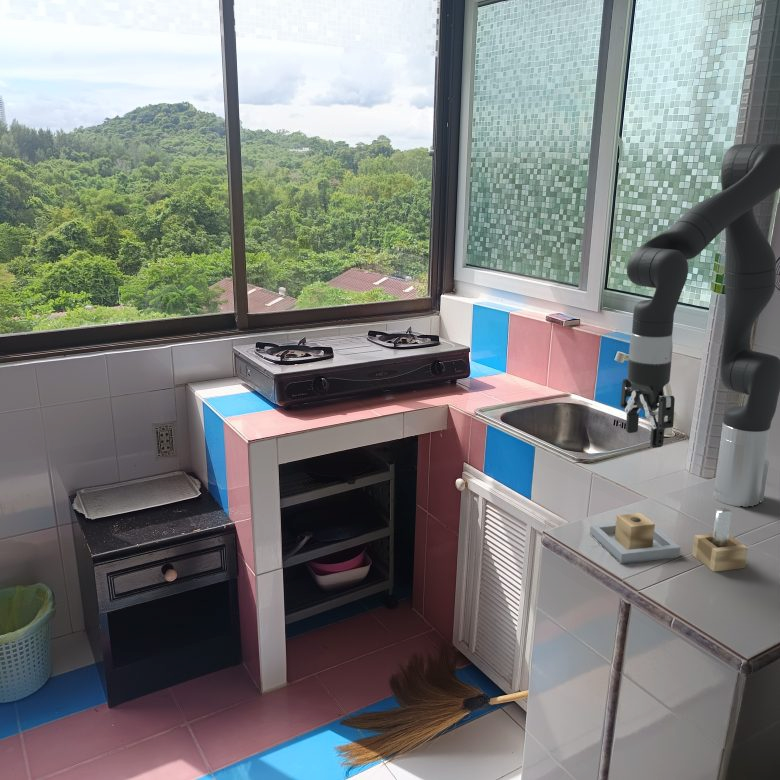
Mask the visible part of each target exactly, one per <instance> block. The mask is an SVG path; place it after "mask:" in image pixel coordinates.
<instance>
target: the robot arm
mask: <svg viewBox="0 0 780 780" xmlns="http://www.w3.org/2000/svg"><path fill="white" fill-rule="evenodd" d="M720 184H721V191H720V192H718V193H716V194H713V195H712V196H710V197H707V198H705V199H703V200H702V201H700V202H698V203H697V204H696V205H693V206H692V207H691V208H690V209H688V210H687V211H686V212H685V213H684V214H683V215H682V216H681V217H680V218H679V219H678V220H677V221H676V222H674V224H673V225H672V226H671V227H670V228H668V229H667V230H665V231H664V232H661V233H660V234H658V235H656V236H654V237H653V238H651V239H648V240H647V241H646V242H644V243H643V244H641V245H640V246H638V247H637V248H636V249H635V250H634V252H632V254H631V255H630V257H629V259H628V262H627V263H626V264H627V265H626V274H627V277H628V279H629V281H630V282H631V283H633V284H634V285H637V286H639V287H646V288H652V289H655V291H654V294H653V296H652V297H651V299H647V300H646V299H644V300H640V301H638V302H636V303H635V306H634V308H633V314H632V315H633V316H632V325H631V326H632V328H631V337H630V341H629V349H628V363H627V364H628V365H627V377H626V378H624V379H623V380H622V383H621V384H622V385H621V393H620V404H619V406H620V408H621V409H624V412H625V414H626V420H625V421H626V423H625V432H626V433H629V434H634V433H637V432H638V431H639V420H640V419H639V418H640V414H639V412H640V411H641V410H642V411H643V412H644V413H645V417H646V418H648V419H649V421H650V424H651V430H650V431H651V432H650V441H649V442H650V444H649V446H650V447H651V448H653V449H654V448H655V449H656V448H661V447H663V445H664V438H665V429H671V428H673V427H674V417H675V396H674V395H665V392H664V387H665V386H666V385H667V384H669V383H670V381H671V379H670V378H671V370H672V360H673V359H672V357H673V345H674V344H673V331H674V329H673V328H674V316H675V312H676V309H677V306H678V303H679V300H680V298H681V295H682V291H683V290H684V287H685V286H686V285H685V284H686V282H687V279H688V275H689V264H688V260H691V259H694V258H696V257H697V256H699V254H701V253H702V252H703V251H704V250H705V248H707V246H708V245H710V244H711V243H712V242H713V240H714V239H715V238H716V237H718V236H719V235H720V233H722V232H723V231H725V261H724V262H725V263H724V291H725V305H724V306H725V307H724V309H725V313H724V314H725V315H724V329H723V330H724V333H723V341H722V349H721V350H722V351H721V358H720V359H721V360H720V379H721V382H722V385H723V386H724V387H725V388H726V389H729V390H730V391H733V392H737V393H740V394H743V395H747V396H748V397H747V400H746V404H745V405H737V406H731V407H729V408H727V409H726V410H724V413H723V419H722V427H721V433H720V434H721V436H720V441H719V450H718V457H717V465H716V473H715V480H714V481H715V482H714V488H713V497H714V496H715V497H714V499H716V500H717V499H718V500H717V501H719V502H720V501H721V503H722V504H726V505H728V506H734V507H739V508H741V507H740V506H743V507H742V508H749V507H748V506H752V507H755V506H754V505H756V504H758V505H759V504H760V503H761V502H760V501H763V502H764V499H765V491H766V485H767V480H768V471H769V466H770V465H769V464H770V462H769V460H767V459H766V458H767V452H768V446H769V437H770V433H771V432H770V430H771V425H772V421H773V419H774V416H775V413H776V411H777V406H778V400H779V396H780V358H779V357H778V356H776V355H773V354H770V353H769V354H768V353H765V352H759V351H757V350H752V349H751V335H752V330H753V326H754V325H755V322H756V321H757V319H758V318H759V316H760V314H761V313H762V312H763V311H764V309H766V307H767V306H768V304H769V302H770V301H771V299H772V297H773V295H774V293H775V290H776V274H777V273H776V271H777V269H776V267H777V261H776V255H775V252H774V250H773V248H772V246H771V244H770V243H769V242H770V241H769V240H768V239H767V237H766V235H765V234H764V232H763V230H762V229H761V227H760V225H759V224H758V221H757V219H756V217H755V214H754V207H755V206H757V205H759V204H760V203H761V202H762V201H764V200H766V199H767V198H768V197H770V196H771V195H773V194H774V193H775V192H777V191H778V190H779V189H780V143H779V142H773V141H769V142H753V143H749V142H748V143H739V144H738V143H737V144H734V145H732V146H730V147H729V148H728V149H727V151H726V152H725V154H724V155H723V159H722V163H721V168H720ZM628 397H629V398H628ZM627 398H628V400H627ZM657 410H658V411H657ZM666 417H667V419H666ZM656 418H657V419H656ZM759 502H760V503H759ZM756 506H757V505H756Z"/></svg>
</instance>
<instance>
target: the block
mask: <svg viewBox="0 0 780 780" xmlns="http://www.w3.org/2000/svg"><path fill="white" fill-rule="evenodd" d="M615 521H616V522H615V523H616V531H615V540H616V541H618V542H619V543H620V544H621V545H622V546H623V547H625V548H626V549H627V550H632V549H640V548H649V547H652V546H653V537H654V528H656V524H655V523H654V521H652V520H650V519H649V518H648V517H646V516H645V515H644V514H642V513H641V512H635V513H628V514H619V515H616V520H615Z"/></svg>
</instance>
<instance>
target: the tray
mask: <svg viewBox="0 0 780 780" xmlns="http://www.w3.org/2000/svg"><path fill="white" fill-rule="evenodd" d="M589 530H590V531H589V535H590V534H591V535H592V536H593V537H594V538H595V539H596V540H597V541H598V542H599V543H600V544H601V545H602V546H603V547H602V548H603V549H605V551H607V552H608V553H609V554H610V555H611V556H612V557H613V558H614V559H615V560H616V561H617V562H619V564H620V565H623V564H625V565H626V564H631V563H639V562H649V561H656V560H657V561H658V560H666V559H674V558H679V557H680V554H681V547H682V546H679V544H677V543H676V542H675V541H673V540H672V539H671V538H669V537H668V536H667V535H666V534H664V533H663V532H662V531H661V530H659V529H658V528H657V527H655V528H654V537H653V546H652V547H649V548H640V549H632V550H627V549H626V548H625V547H623V546H622V545H621V544H620V543H619V542H618V541H616V540H615V531H616V522H610V523H600V524H590V527H589ZM591 535H590V536H591ZM592 536H591V537H592ZM593 537H592V538H593ZM594 538H593V539H594ZM595 539H594V540H595ZM596 540H595V541H596ZM597 541H596V542H597ZM598 542H597V543H598ZM599 543H598V544H599ZM600 544H599V545H600Z"/></svg>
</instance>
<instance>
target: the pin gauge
mask: <svg viewBox="0 0 780 780" xmlns="http://www.w3.org/2000/svg"><path fill="white" fill-rule="evenodd" d="M732 514H733V512H732V510H730V509H728V508H722V507H721V508H716V509H715V515H714V516H715V517H714V524H713V532H712V533H713V539H712V544H714V545H715V546H716V547H718V548H720V547H727V545H728V538H729V535H730V531H731V530H730V529H731V522H732Z"/></svg>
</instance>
